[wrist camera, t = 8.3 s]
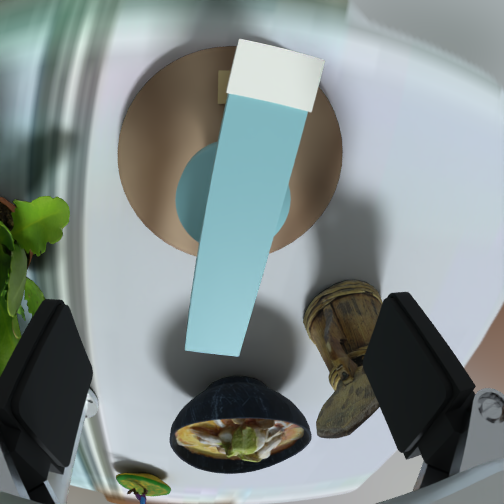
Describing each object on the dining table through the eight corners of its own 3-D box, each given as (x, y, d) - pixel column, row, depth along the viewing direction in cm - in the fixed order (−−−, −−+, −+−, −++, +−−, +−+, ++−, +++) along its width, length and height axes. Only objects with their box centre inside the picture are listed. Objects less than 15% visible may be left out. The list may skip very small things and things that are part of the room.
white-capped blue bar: (257, 289, 22) (268, 360, 16) (168, 276, 21) (153, 346, 15) (317, 74, 15) (363, 73, 10) (205, 49, 14) (194, 31, 9)
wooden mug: (329, 235, 30) (416, 393, 14) (391, 308, 35) (460, 435, 20) (259, 291, 32) (286, 462, 17) (332, 350, 38) (375, 481, 22)
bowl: (163, 412, 43) (158, 470, 34) (192, 339, 35) (187, 414, 26) (268, 429, 47) (275, 482, 38) (322, 366, 39) (341, 430, 31)
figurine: (111, 460, 53) (103, 520, 40) (169, 468, 55) (166, 530, 42) (123, 480, 60) (118, 531, 47) (173, 486, 61) (172, 539, 48)
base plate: (133, 254, 29) (110, 309, 22) (118, 54, 20) (76, 47, 13) (323, 253, 31) (350, 306, 24) (346, 58, 22) (393, 54, 15)
